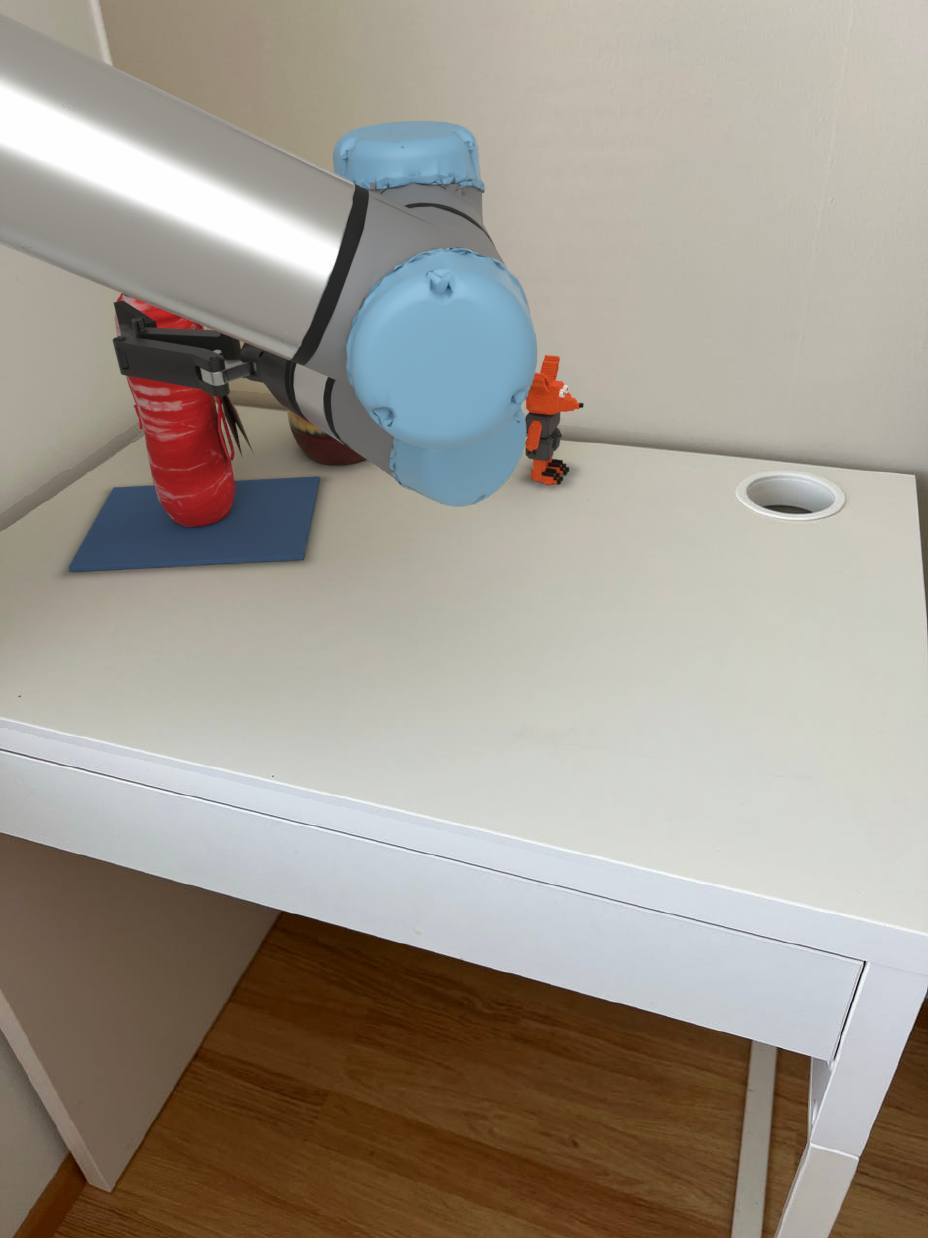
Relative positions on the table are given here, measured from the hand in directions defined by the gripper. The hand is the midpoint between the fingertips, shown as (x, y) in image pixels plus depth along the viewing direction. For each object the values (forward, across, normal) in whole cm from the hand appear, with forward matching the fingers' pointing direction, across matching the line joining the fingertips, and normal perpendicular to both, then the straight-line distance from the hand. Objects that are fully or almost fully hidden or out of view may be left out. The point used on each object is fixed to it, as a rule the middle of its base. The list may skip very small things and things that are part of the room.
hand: (204, 299), depth 80 cm
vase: (+15, +18, -25) cm, 34 cm away
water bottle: (+10, +1, -24) cm, 26 cm away
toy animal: (-6, +32, -24) cm, 41 cm away
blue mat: (+10, -1, -25) cm, 27 cm away
